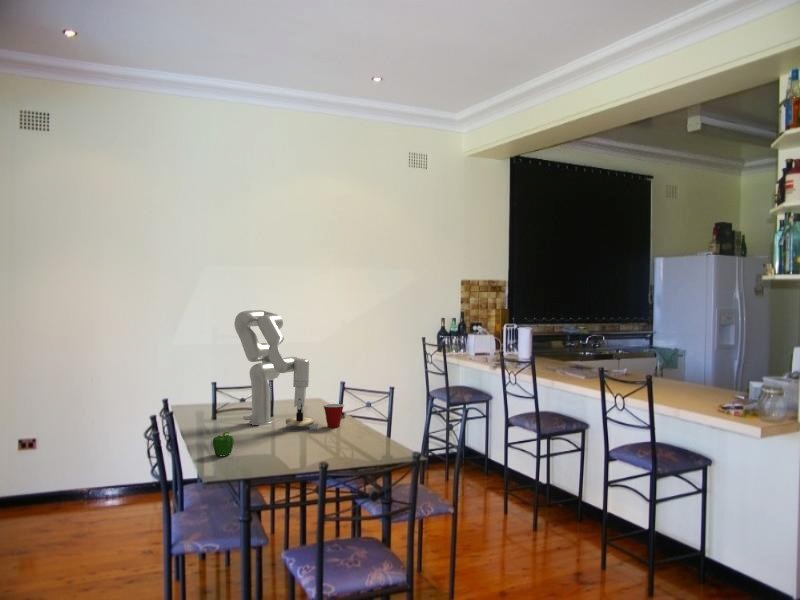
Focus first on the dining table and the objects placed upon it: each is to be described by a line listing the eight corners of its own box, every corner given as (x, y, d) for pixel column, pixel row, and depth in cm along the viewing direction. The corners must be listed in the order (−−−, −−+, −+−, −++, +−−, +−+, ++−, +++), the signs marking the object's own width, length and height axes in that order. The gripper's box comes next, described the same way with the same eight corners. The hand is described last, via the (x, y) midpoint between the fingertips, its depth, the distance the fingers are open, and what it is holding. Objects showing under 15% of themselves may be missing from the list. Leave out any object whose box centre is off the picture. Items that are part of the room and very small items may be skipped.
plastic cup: (346, 425, 312) (346, 402, 311) (342, 430, 301) (342, 406, 301) (325, 425, 313) (325, 402, 312) (320, 430, 302) (320, 406, 302)
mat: (284, 433, 295) (284, 431, 295) (287, 425, 311) (287, 424, 311) (317, 432, 297) (317, 431, 297) (318, 425, 313) (318, 423, 313)
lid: (284, 425, 297) (284, 411, 297) (286, 419, 311) (287, 405, 311) (313, 426, 298) (313, 412, 298) (314, 419, 312) (314, 406, 312)
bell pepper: (212, 458, 251) (212, 434, 251) (213, 453, 259) (212, 430, 259) (233, 457, 254) (233, 433, 254) (233, 452, 262) (233, 429, 261)
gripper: (294, 380, 312) (293, 415, 312) (292, 386, 295) (290, 423, 296) (309, 380, 312) (308, 416, 313) (307, 386, 296) (306, 423, 297)
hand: (299, 419), depth 305 cm, fingers closed on lid, 3 cm apart
